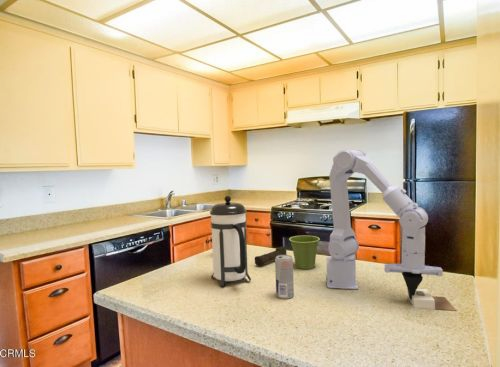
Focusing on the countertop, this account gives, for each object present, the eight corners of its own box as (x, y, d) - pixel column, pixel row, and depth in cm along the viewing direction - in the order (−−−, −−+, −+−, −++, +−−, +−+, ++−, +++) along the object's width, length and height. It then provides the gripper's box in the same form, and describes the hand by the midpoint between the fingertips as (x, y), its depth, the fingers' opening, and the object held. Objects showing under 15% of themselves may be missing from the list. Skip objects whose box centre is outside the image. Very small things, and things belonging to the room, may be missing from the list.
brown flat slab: (435, 309, 86) (435, 308, 86) (425, 296, 95) (425, 295, 95) (456, 310, 85) (456, 310, 85) (444, 297, 94) (444, 296, 94)
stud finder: (414, 307, 88) (414, 297, 88) (407, 296, 96) (407, 287, 95) (434, 309, 87) (434, 298, 86) (426, 297, 94) (426, 287, 94)
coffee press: (199, 286, 110) (195, 197, 109) (223, 271, 125) (220, 194, 123) (245, 292, 103) (241, 198, 101) (264, 276, 117) (261, 194, 116)
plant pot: (284, 265, 130) (283, 237, 130) (308, 261, 135) (308, 234, 135) (300, 273, 119) (300, 243, 119) (326, 268, 124) (326, 239, 124)
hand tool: (261, 266, 127) (260, 255, 127) (254, 265, 130) (253, 254, 130) (291, 256, 141) (290, 246, 141) (284, 255, 144) (283, 245, 144)
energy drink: (283, 291, 103) (282, 253, 102) (297, 295, 99) (296, 256, 98) (272, 296, 99) (271, 257, 99) (286, 300, 95) (285, 260, 95)
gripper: (387, 253, 89) (386, 301, 89) (447, 256, 85) (445, 307, 86) (383, 246, 95) (382, 292, 96) (438, 249, 92) (437, 296, 93)
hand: (411, 298), depth 91 cm, fingers closed, pressing on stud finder
